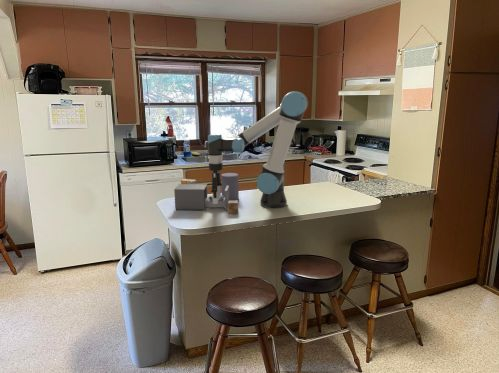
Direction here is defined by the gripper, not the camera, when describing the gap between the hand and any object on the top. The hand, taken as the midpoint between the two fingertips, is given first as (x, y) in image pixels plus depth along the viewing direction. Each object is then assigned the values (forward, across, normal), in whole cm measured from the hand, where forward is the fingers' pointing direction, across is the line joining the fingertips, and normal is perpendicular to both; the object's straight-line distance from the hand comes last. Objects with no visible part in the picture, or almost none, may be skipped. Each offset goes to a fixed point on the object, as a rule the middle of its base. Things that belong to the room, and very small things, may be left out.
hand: (217, 200), depth 210 cm
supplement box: (+4, -13, -18) cm, 23 cm away
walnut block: (+4, +9, +10) cm, 14 cm away
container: (+4, -19, +6) cm, 20 cm away
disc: (-1, 0, 0) cm, 1 cm away
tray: (+4, 0, -2) cm, 4 cm away
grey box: (+4, 0, -14) cm, 15 cm away
